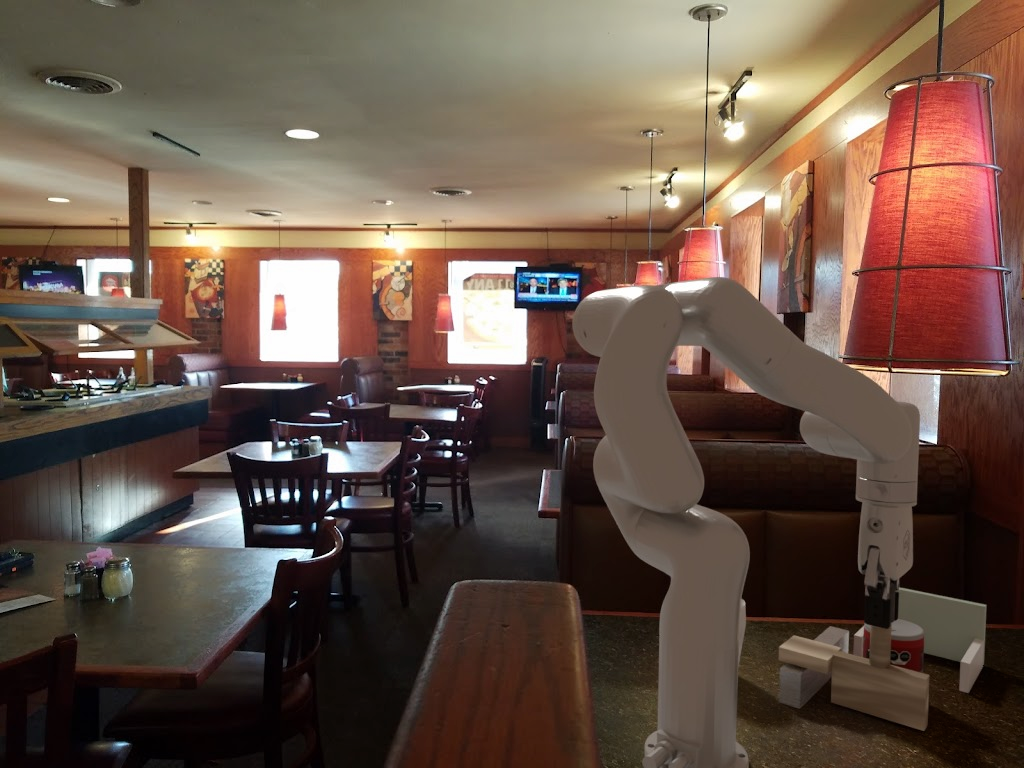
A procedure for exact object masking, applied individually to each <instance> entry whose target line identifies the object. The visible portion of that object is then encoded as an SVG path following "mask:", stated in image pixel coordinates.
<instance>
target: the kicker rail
mask: <svg viewBox="0 0 1024 768" xmlns="http://www.w3.org/2000/svg"><path fill="white" fill-rule="evenodd" d="M849 638H850V630H847V629H844V628H840V627H835V626H828V627H827V628H826V629H825V630H823V632H822V633H820V634H819V635H818V636H816V638H814V639H813V640H814V641H818V642H821V643H825V644H829V645H833V646H837V647H841V652H845V653H848V654H849V642H850V641H849ZM830 679H832V670H831V671H830V672H829V673H828V674H825V673H821V672H818V671H814V670H811V669H807V668H804V667H800V666H797V665H793V664H790V663H786V662H785V664H783V665H782V666H781V667H780V669H779V688H778V689H779V690H778V691H779V692H778V694H779V695H778V702H779V703H781V704H783V705H786V706H789V707H792V708H796V709H799V710H800V709H802V707H804V706H805V704H806V703H808V702H809V700H810V699H812V697H813V696H815V694H817V692H819V690H820V689H822V687H823V686H825V684H826V683H828V681H829V680H830Z"/></svg>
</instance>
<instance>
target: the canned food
mask: <svg viewBox="0 0 1024 768" xmlns="http://www.w3.org/2000/svg"><path fill="white" fill-rule="evenodd" d="M863 626H864V634H863V658H867V659H869V656H870V628H871V625H868V624H865V623H864V625H863ZM924 655H925V653H924V630H923V629H922V628H921V627H920V626H918V625H916V624H914V623H911V622H909V621H905V620H901V619H897V620H896V621H894V622H892V628H891V654H890V665H894V666H897V667H901V668H905V669H909V670H912V671H916V672H920V673H924Z"/></svg>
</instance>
